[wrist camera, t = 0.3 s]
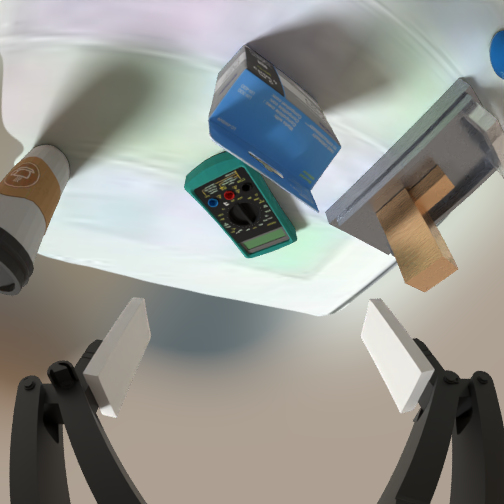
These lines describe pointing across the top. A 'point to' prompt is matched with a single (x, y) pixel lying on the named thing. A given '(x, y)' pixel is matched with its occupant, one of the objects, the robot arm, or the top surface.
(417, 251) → the tan l-shaped block
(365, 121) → the top surface
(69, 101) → the top surface
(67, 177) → the coffee cup
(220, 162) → the digital multimeter
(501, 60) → the beverage can
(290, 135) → the label tape box
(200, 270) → the top surface
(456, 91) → the gray fixture tray
